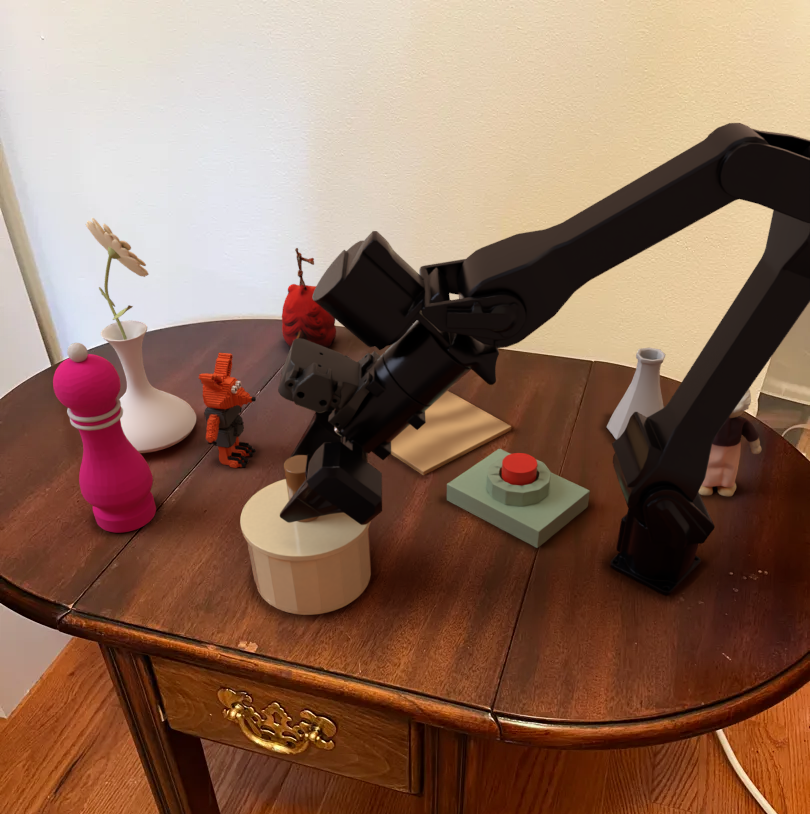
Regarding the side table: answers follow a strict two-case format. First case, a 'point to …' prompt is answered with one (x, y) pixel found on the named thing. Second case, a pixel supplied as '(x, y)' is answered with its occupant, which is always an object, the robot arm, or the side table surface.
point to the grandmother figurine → (729, 451)
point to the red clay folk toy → (306, 313)
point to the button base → (518, 499)
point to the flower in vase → (140, 367)
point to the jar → (313, 579)
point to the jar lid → (299, 536)
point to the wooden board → (446, 434)
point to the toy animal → (225, 412)
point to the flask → (640, 391)
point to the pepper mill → (104, 443)
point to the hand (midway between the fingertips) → (287, 491)
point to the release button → (519, 469)
